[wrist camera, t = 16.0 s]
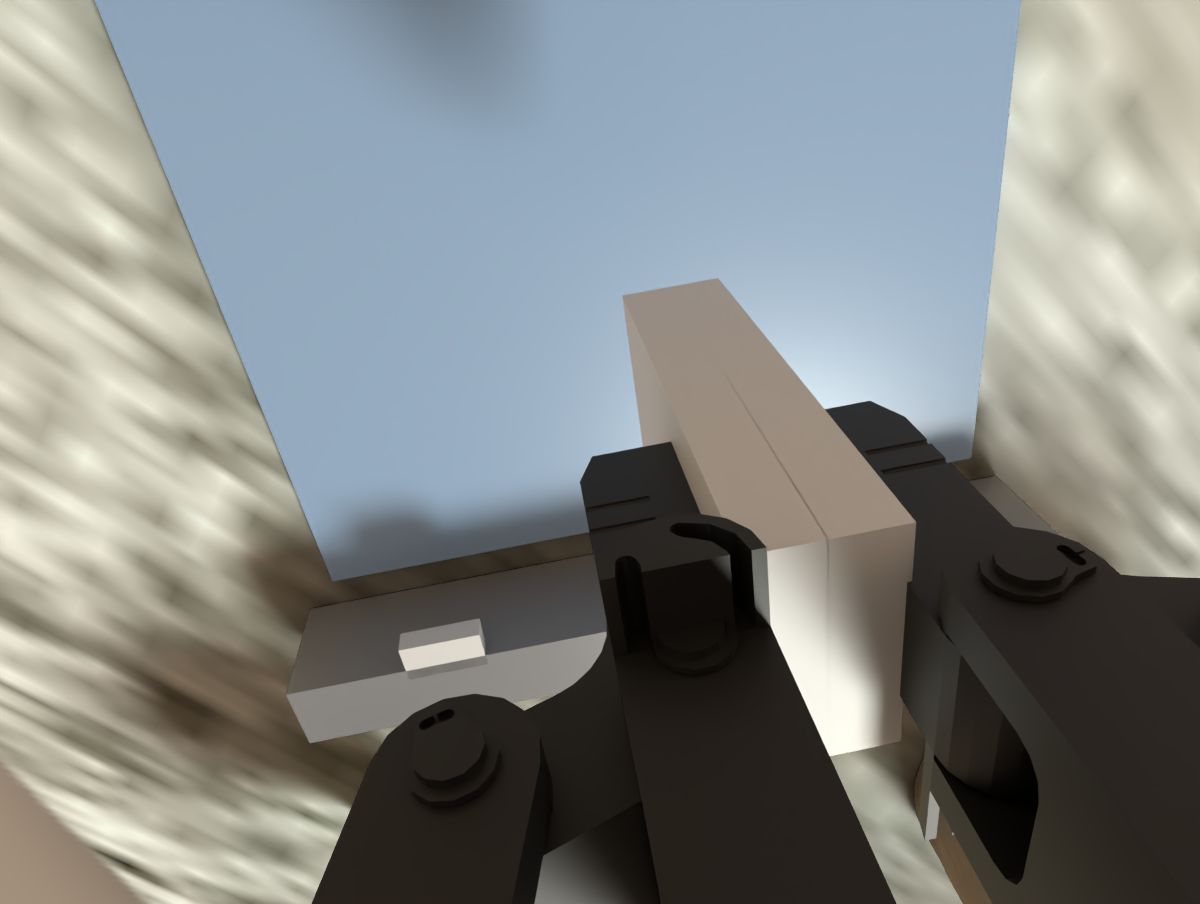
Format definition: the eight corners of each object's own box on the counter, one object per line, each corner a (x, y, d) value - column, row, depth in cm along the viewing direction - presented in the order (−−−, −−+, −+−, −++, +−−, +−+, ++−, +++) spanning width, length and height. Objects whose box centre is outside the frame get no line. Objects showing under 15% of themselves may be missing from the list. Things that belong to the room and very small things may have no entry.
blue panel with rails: (-71, -260, 13) (-220, -327, 10) (1114, -445, 14) (1273, -555, 11) (330, 655, 23) (309, 743, 21) (989, 525, 24) (1055, 594, 21)
